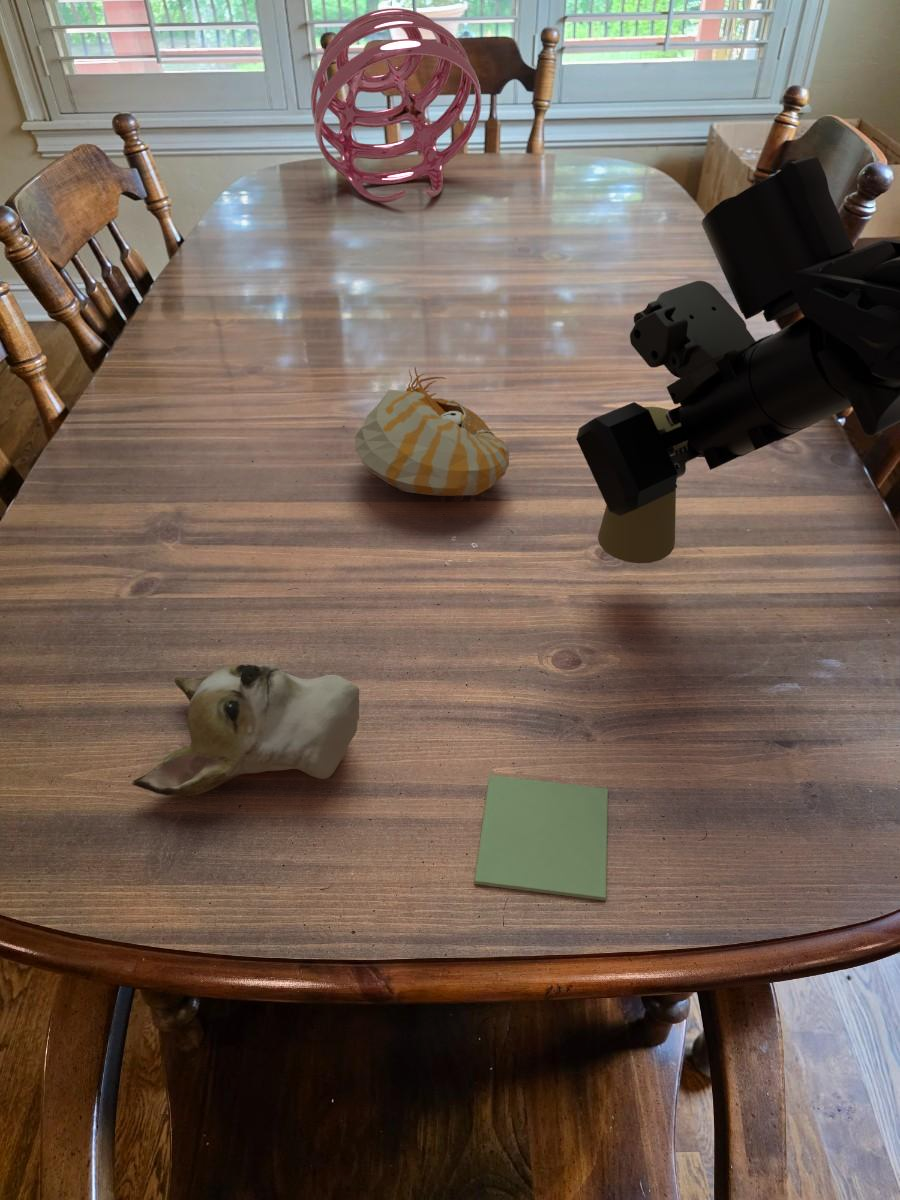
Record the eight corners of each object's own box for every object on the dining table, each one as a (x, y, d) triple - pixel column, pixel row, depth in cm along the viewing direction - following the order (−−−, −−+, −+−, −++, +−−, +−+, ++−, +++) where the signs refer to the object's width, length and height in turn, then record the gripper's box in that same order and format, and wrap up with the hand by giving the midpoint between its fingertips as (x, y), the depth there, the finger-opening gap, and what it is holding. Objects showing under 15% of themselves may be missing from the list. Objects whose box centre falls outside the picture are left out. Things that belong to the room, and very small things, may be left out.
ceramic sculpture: (340, 736, 51) (97, 734, 52) (361, 821, 57) (142, 818, 58) (366, 613, 59) (154, 615, 60) (382, 699, 65) (188, 699, 66)
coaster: (607, 791, 58) (608, 788, 58) (605, 901, 52) (605, 897, 52) (489, 778, 59) (489, 774, 59) (474, 884, 53) (474, 881, 53)
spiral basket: (494, 86, 125) (445, -60, 131) (310, 148, 127) (271, 1, 133) (506, 208, 152) (466, 82, 158) (355, 257, 155) (321, 131, 160)
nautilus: (372, 413, 97) (506, 421, 97) (343, 518, 80) (505, 529, 80) (371, 344, 92) (512, 353, 92) (339, 442, 75) (512, 453, 75)
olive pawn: (582, 542, 69) (594, 419, 61) (625, 508, 72) (641, 387, 65) (647, 573, 66) (668, 448, 58) (689, 536, 69) (714, 413, 62)
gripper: (831, 223, 55) (677, 330, 69) (612, 297, 47) (489, 400, 61) (903, 384, 55) (735, 458, 69) (697, 483, 47) (555, 544, 62)
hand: (633, 461), depth 65 cm, fingers closed on olive pawn, 5 cm apart
